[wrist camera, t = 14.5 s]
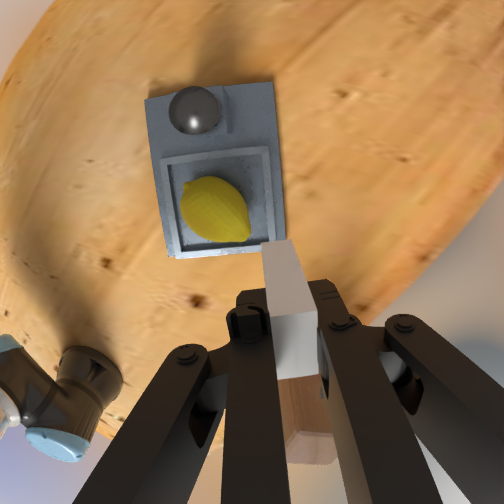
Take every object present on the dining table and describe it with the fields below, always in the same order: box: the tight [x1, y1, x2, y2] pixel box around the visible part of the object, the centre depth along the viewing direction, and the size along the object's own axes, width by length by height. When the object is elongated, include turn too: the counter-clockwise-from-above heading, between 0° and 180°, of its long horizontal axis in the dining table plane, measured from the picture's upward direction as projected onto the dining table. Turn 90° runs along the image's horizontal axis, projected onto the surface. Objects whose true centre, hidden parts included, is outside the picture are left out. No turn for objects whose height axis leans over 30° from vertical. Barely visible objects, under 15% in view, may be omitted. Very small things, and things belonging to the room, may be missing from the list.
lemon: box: [180, 176, 252, 242], centre depth 41 cm, size 11×8×8 cm
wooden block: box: [278, 365, 338, 465], centre depth 49 cm, size 10×10×20 cm
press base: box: [144, 82, 286, 259], centre depth 40 cm, size 18×24×10 cm
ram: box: [169, 86, 220, 135], centre depth 33 cm, size 5×5×10 cm
